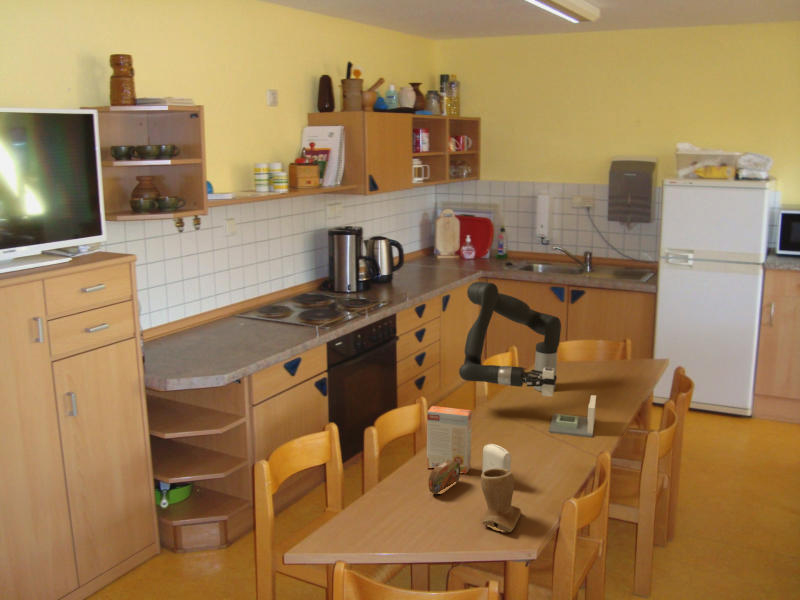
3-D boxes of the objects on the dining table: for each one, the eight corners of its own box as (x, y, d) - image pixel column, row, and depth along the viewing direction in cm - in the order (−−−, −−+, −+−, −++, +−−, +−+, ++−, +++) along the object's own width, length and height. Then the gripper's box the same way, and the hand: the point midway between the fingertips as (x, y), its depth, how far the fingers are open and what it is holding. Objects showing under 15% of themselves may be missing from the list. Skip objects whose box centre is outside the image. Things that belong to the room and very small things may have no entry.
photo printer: (480, 477, 256) (481, 442, 253) (489, 474, 259) (490, 439, 256) (503, 489, 248) (504, 453, 245) (512, 485, 251) (513, 449, 248)
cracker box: (471, 467, 263) (472, 409, 259) (466, 475, 258) (468, 415, 253) (431, 461, 268) (432, 404, 263) (426, 469, 262) (426, 410, 257)
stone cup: (485, 505, 238) (487, 460, 234) (524, 512, 233) (526, 466, 230) (471, 529, 224) (472, 481, 221) (511, 537, 220) (513, 488, 216)
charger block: (542, 392, 302) (544, 365, 299) (553, 393, 300) (554, 366, 298) (541, 395, 298) (542, 368, 295) (552, 396, 297) (553, 369, 294)
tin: (434, 499, 241) (435, 474, 240) (426, 496, 243) (426, 471, 241) (461, 481, 253) (461, 457, 251) (452, 479, 255) (453, 455, 253)
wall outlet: (553, 415, 310) (554, 389, 307) (594, 420, 305) (596, 394, 303) (548, 432, 293) (550, 405, 290) (592, 437, 288) (594, 410, 286)
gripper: (508, 372, 294) (554, 376, 290) (514, 361, 308) (558, 365, 303) (507, 391, 296) (553, 395, 291) (513, 379, 309) (557, 383, 304)
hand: (555, 380), depth 297 cm, fingers closed on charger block, 4 cm apart
